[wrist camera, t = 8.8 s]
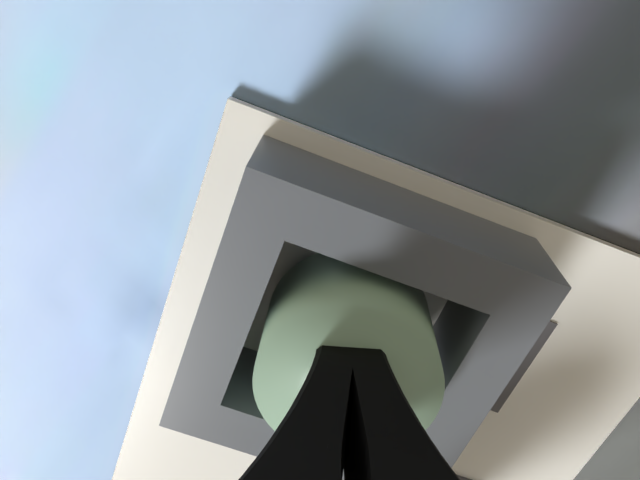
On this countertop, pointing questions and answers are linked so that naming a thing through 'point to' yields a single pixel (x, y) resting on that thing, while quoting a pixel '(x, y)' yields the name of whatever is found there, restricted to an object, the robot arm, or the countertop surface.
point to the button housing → (372, 255)
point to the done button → (345, 333)
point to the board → (526, 384)
